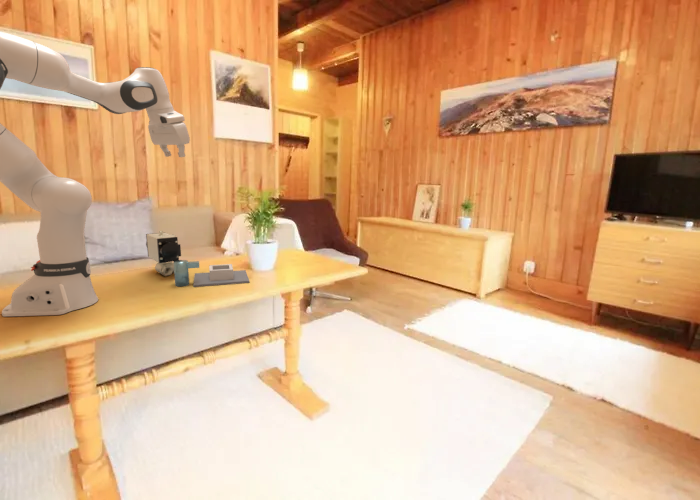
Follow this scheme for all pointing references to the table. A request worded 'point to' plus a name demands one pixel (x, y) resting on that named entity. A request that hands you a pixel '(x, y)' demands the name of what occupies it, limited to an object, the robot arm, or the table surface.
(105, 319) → the table surface
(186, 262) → the elbow
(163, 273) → the ball valve
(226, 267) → the grey base plate
